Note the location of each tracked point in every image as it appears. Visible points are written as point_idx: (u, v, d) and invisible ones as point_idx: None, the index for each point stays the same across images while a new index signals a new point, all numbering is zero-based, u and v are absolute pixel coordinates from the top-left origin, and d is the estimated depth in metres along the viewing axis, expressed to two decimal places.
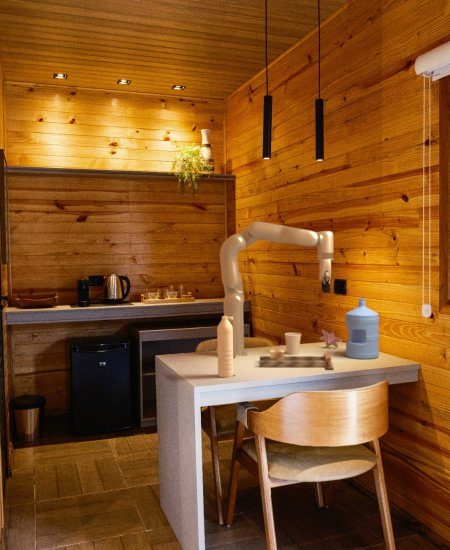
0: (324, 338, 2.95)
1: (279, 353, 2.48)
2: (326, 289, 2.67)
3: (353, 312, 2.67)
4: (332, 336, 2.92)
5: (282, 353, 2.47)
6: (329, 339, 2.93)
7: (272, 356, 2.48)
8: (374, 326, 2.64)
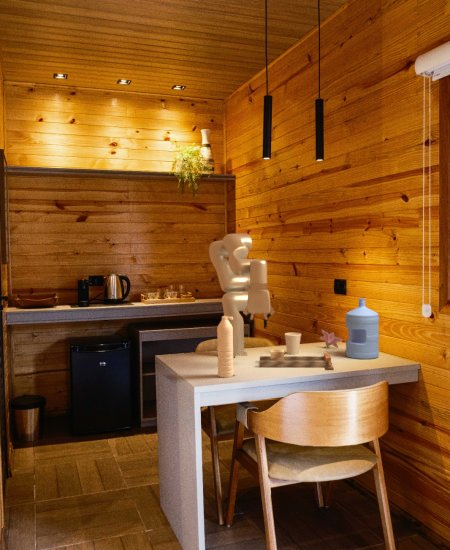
0: (324, 338, 2.96)
1: (279, 353, 2.48)
2: (266, 324, 2.50)
3: (353, 312, 2.67)
4: (332, 336, 2.92)
5: (282, 353, 2.47)
6: (329, 339, 2.93)
7: (272, 356, 2.48)
8: (374, 326, 2.64)
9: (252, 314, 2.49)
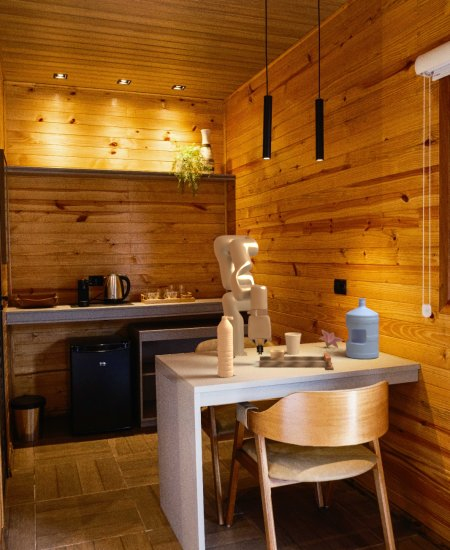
0: (324, 338, 2.96)
1: (279, 353, 2.48)
2: None
3: (353, 312, 2.67)
4: (332, 336, 2.92)
5: (282, 353, 2.47)
6: (329, 339, 2.93)
7: (272, 356, 2.48)
8: (374, 326, 2.64)
9: None
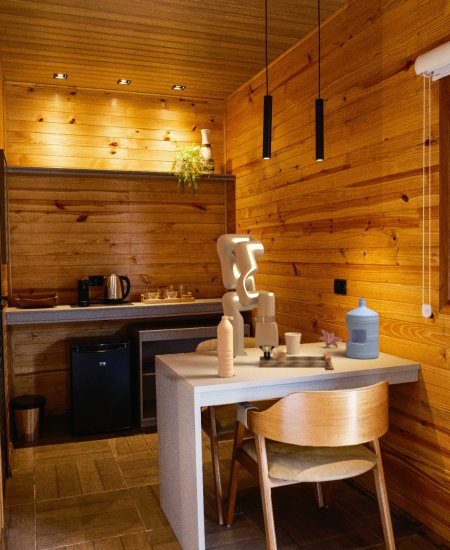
0: (324, 338, 2.96)
1: (281, 353, 2.47)
2: None
3: (353, 312, 2.67)
4: (332, 336, 2.92)
5: (284, 353, 2.47)
6: (329, 339, 2.93)
7: (274, 356, 2.48)
8: (374, 326, 2.64)
9: None
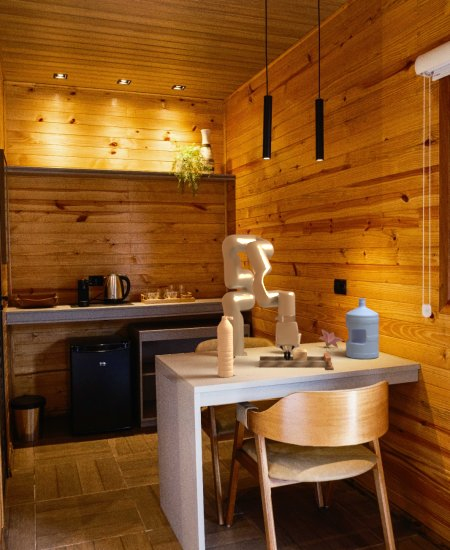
0: (324, 338, 2.96)
1: (302, 353, 2.47)
2: (290, 356, 2.50)
3: (353, 312, 2.67)
4: (332, 336, 2.92)
5: (305, 353, 2.46)
6: (329, 339, 2.93)
7: (295, 356, 2.47)
8: (374, 326, 2.64)
9: None
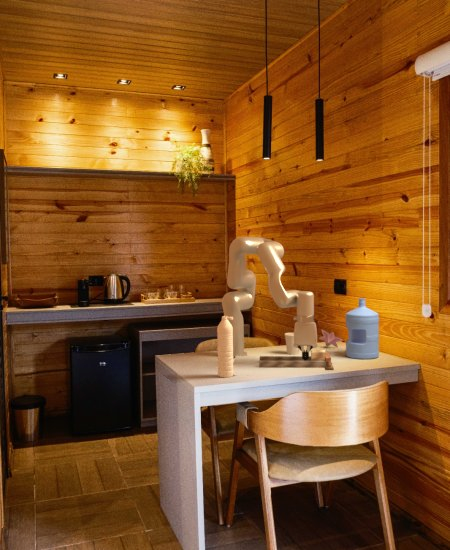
0: (324, 338, 2.96)
1: (320, 353, 2.45)
2: (308, 357, 2.49)
3: (353, 312, 2.67)
4: (332, 336, 2.93)
5: (323, 353, 2.45)
6: (329, 339, 2.94)
7: (313, 356, 2.46)
8: (374, 326, 2.64)
9: (303, 346, 2.48)
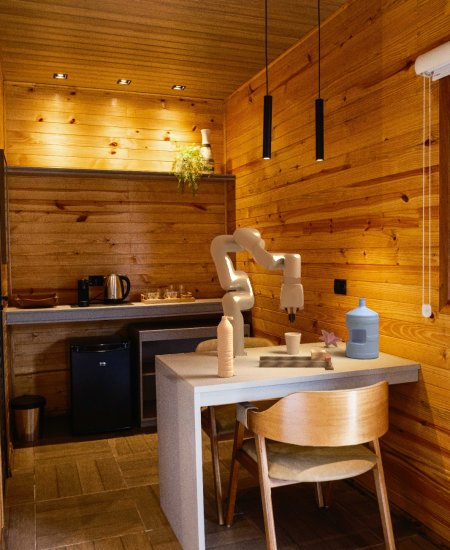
0: (324, 338, 2.97)
1: (320, 353, 2.45)
2: None
3: (353, 312, 2.67)
4: (332, 336, 2.93)
5: (323, 353, 2.45)
6: (329, 339, 2.94)
7: (313, 356, 2.46)
8: (374, 326, 2.64)
9: None
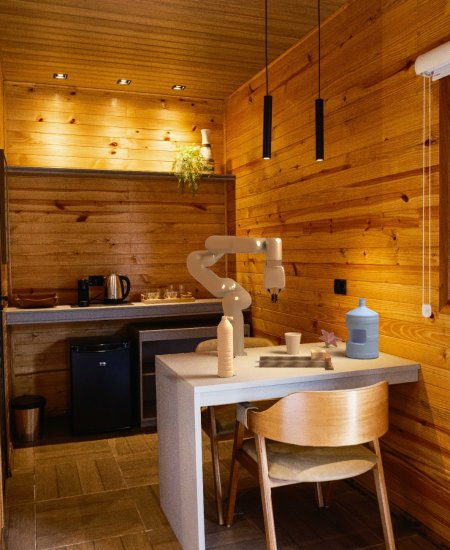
0: (323, 338, 2.97)
1: (320, 353, 2.45)
2: (277, 299, 2.65)
3: (353, 312, 2.67)
4: (332, 336, 2.93)
5: (323, 353, 2.45)
6: (329, 339, 2.94)
7: (313, 356, 2.46)
8: (374, 326, 2.64)
9: (272, 289, 2.64)
